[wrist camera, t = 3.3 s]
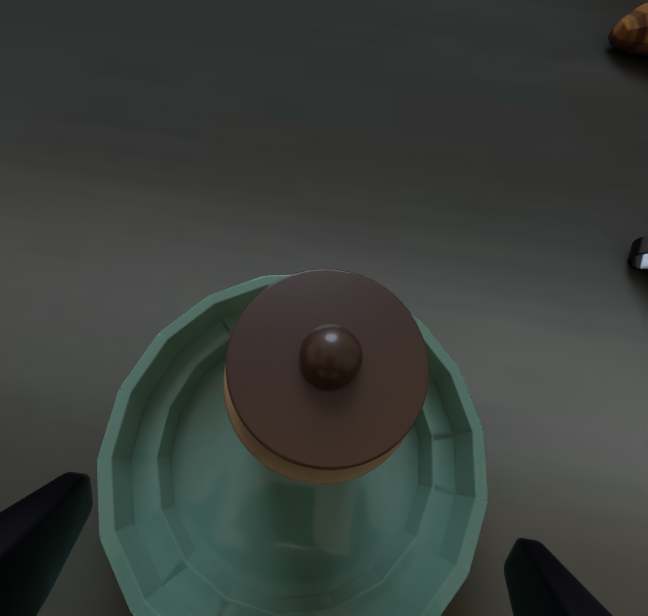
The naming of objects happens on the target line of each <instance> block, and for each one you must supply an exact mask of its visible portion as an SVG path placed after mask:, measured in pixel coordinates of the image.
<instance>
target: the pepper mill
mask: <svg viewBox="0 0 648 616" xmlns="http://www.w3.org/2000/svg"><path fill="white" fill-rule="evenodd" d="M428 385H429V359H428V354H427V349H426V345H425V342H424V339H423V336H422V333H421V331H420V329H419V327H418V325H417V323H416V321H415V320H414V318H413V316H412V315H411V313H410V312H409V311H408V309H407V308H406V307H405V306H404V305H403V303H402V302H401V301H400V300H399V299H398V298H397V297H396V296H395V295H394V294H392V293H391V292H390V291H388V290H387V289H386V288H384V287H383V286H381V285H380V284H378V283H376V282H375V281H373V280H371V279H368V278H366V277H364V276H362V275H358V274H355V273H352V272H348V271H343V270H336V269H314V270H308V271H302V272H298V273H295V274H292V275H289V276H287V277H284V278H282V279H280V280H278V281H276V282H275V283H273V284H271V285H269V286H268V287H267V288H265V289H264V290H263V291H261V292H260V293H259V294H258V295H257V296H256V297H255V298H254V299H253V300H252V301H251V302H250V303H249V304H248V305H247V307H246V308H245V309H244V310H243V312H242V313H241V315H240V317H239V318H238V320H237V322H236V324H235V326H234V329H233V331H232V333H231V336H230V340H229V343H228V347H227V354H226V364H225V369H224V377H223V393H224V401H225V406H226V410H227V414H228V417H229V420H230V422H231V424H232V427H233V429H234V431H235V433H236V434H237V436H238V438H239V439H240V441H241V442H242V444H243V445H244V446H245V447H246V449H247V450H248V451H249V452H250V453H251V454H252V455H253V456H254V457H255V458H256V459H257V460H258V461H259V462H260V463H262V464H263V465H265V466H266V467H268V468H269V469H270V470H272V471H274V472H276V473H278V474H280V475H282V476H284V477H287V478H290V479H293V480H296V481H299V482H305V483H310V484H333V483H341V482H345V481H348V480H352V479H355V478H357V477H360V476H362V475H365V474H367V473H368V472H370V471H372V470H373V469H375V468H377V467H378V466H379V465H381V464H382V463H383V462H384V461H385V460H387V459H388V458H389V457H390V456H391V455H392V454H393V453H394V451H395V450H396V449H397V448H398V447H399V445H400V444H401V442H402V441H403V439H404V438H405V436H406V435H407V434H408V433H409V431H410V430H411V428H412V427H413V425H414V424H415V422H416V421H417V419H418V417H419V415H420V413H421V411H422V408H423V405H424V402H425V399H426V395H427V390H428Z"/></svg>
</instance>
